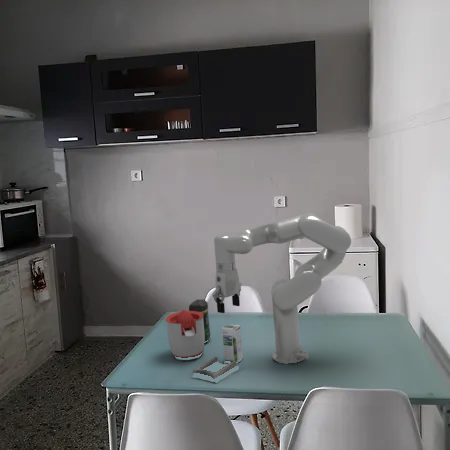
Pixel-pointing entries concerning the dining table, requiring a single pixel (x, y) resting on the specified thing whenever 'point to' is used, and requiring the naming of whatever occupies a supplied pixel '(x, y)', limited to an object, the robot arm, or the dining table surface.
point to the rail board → (214, 374)
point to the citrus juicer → (186, 333)
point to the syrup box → (232, 343)
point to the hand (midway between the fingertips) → (228, 309)
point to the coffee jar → (203, 308)
